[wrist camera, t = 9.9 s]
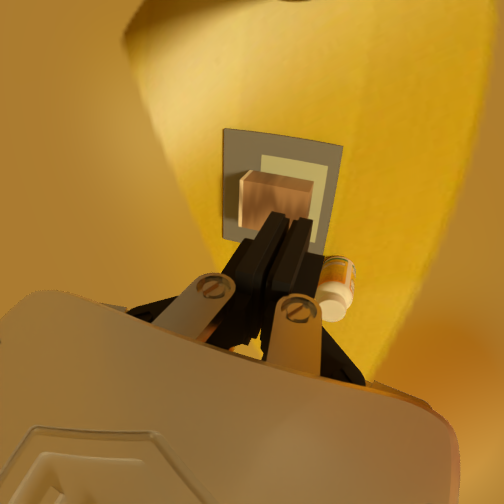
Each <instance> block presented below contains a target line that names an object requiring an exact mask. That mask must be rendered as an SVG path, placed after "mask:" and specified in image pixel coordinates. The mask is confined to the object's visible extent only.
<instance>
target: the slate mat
mask: <svg viewBox="0 0 504 504" xmlns="http://www.w3.org/2000/svg"><path fill="white" fill-rule="evenodd" d="M342 150H343V146H340V145H335V144H330V143H324V142H319V141H314V140H308V139H302V138H296V137H290V136H283V135H276V134H269V133H262V132H254V131H246V130H237V129H227V128H225V129H224V185H223V239H227V240H232V241H236V242H240V243H241V242H242V241H243V239H244V238H249V239H253V240H254V239H255V237H256V236H257V234H258V232H259V231H257V230H253V229H248V228H243V227H239V226H238V219H239V187H240V179H241V178H242V177H243V176H244V175H245V174H246V173H247V172H248V171H249V170H254V171H260V172H266V173H272V174H278V175H283V176H289V177H294V178H299V179H304V180H310V181H314V185H313V192H312V198H311V205H310V211H309V217H308V219H311V220H313V226H312V232H311V237H310V243H309V248H308V252H310V253H314V254H319V255H323V251H324V246H325V241H326V237H327V232H328V227H329V222H330V217H331V212H332V207H333V202H334V196H335V191H336V185H337V180H338V174H339V168H340V162H341V156H342Z"/></svg>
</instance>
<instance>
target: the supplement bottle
mask: <svg viewBox="0 0 504 504" xmlns="http://www.w3.org/2000/svg"><path fill="white" fill-rule="evenodd" d="M355 275H356V269H355V266H354V264H353V263H352V262H351V261H350V260H349V259H347V258H345V257H340V256H335V257H331V258H329V259H327V260H326V261H325V262H324V264H323V266H322V270H321V274H320V278H319V283H318V287H317V291H316V295H315V299H316V301H317V302H318V303H319V305H320V307H321V310H322V319H323V320H325V321H329V322H336V321H339V320H341V319H342V318H343V317H344V316H345V313H346V309H347V308H348V307H349V306H350V305H351V303H352V300H353V293H354V285H355Z"/></svg>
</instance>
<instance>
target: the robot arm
mask: <svg viewBox="0 0 504 504" xmlns="http://www.w3.org/2000/svg"><path fill="white" fill-rule="evenodd" d="M289 224H290V218H286V215H285V214H283V213H279V212H274V211H271V213H270V214H269V216H268V218H267V219H266V221H265V222H264V224H263V226H262V227H261V229H260V231H259V232H258V234H257V236H256V237H255V239H254V240H253V239H249V238H244V239H243V241H242V242H241V244H240V245H239V247H238V248H237V250H236V251H235V253H234V254H233V256H232V257H231V259H230V260H229V262H228V263H227V265H226V266H225V268H224V269H223V271H222V272H221V273H207V274H204V275H201V276H199V277H198V278H197V279H195V280H194V281H193V282H192V283H191V284H190V285H189V286H188V287H187V288H186V289H185V290H184V291H183V292H182V293H181V294H180V295H179V296H175V297H172V298H168V299H164V300H161V301H157V302H153V303H149V304H146V305H142V306H138V307H135V308H133V309H131V310H130V311H128V310H127V308H126V307H121V306H115V305H109V304H104V303H98V302H96V301H93V300H90V299H87V298H85V297H82V296H79V295H76V294H72V293H69V292H64V291H58V290H42V291H36V292H33V293H31V294H29V295H27V296H26V297H25V298H23V299H22V300H21V301H20V302H18V303H17V304H16V305H15V306H14V307H13V308H12V309H10V310H9V311H8V312H7V313H6V314H5V315H4V316H3V317H2V318H1V319H0V504H458V500H459V488H460V454H459V445H458V440H457V437H456V434H455V432H454V429H453V427H452V426H451V425H450V423H449V422H448V421H447V420H446V419H445V418H444V417H443V416H441V415H440V414H438V413H437V412H436V411H434V410H433V409H432V407H431V406H430V405H429V404H428V403H427V402H425V401H424V400H422V399H419V398H417V397H414V396H412V395H409V394H406V393H404V392H402V391H399V390H397V389H394V388H392V387H389V386H387V385H384V384H382V383H379V382H377V381H375V380H374V382H373V383H371V382H369V381H366V380H365V379H364V376H363V375H362V373H361V372H360V370H359V369H358V368H357V367H356V366H355V364H354V363H353V362H352V361H351V360H350V359H349V357H348V356H347V355H346V354H345V353H344V351H343V350H342V349H341V348H340V347H339V345H338V344H337V343H336V342H335V341H334V339H333V338H332V337H331V336H330V335H329V334H328V332H327V331H326V330H325V329H324V328H323V326H322V310H321V307H320V305H319V303H318V302H317V301H316V300H314V298H315V295H316V291H317V287H318V283H319V278H320V274H321V270H322V266H323V261H324V257H325V256H323V255H319V254H314V253H310V252H308V248H309V243H310V237H311V232H312V226H313V220H311V219H307V218H302V217H299V219H298V220H293V222H292V224H291V226H290V228H289ZM260 329H261V335H260V340H261V350H262V352H263V353H264V355H265V356H266V358H267V360H266V362H265V361H262V360H258V359H254V358H251V357H248V356H245V355H241V354H238V353H235V352H234V348H235V346H237V345H240V344H244V345H248V344H249V342H250V340H251V338H254V339H256V338H257V336H258V334H259V332H260Z"/></svg>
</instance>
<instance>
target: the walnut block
mask: <svg viewBox="0 0 504 504" xmlns="http://www.w3.org/2000/svg"><path fill="white" fill-rule="evenodd" d="M313 185H314V181H310V180H304V179H299V178H294V177H289V176H283V175H278V174H272V173H266V172H260V171H254V170H249V171H248V172H247V173H246V174H245V175H244V176H243V177H242V178H241V179H240V187H239V219H238V226H239V227H243V228H248V229H253V230H257V231H260V229H261V227H262V226H263V224H264V222H265V221H266V219H267V218H268V216H269V214H270V213H271V211H274V212H279V213H283V214H285V215H286V218H290V224H289V228H290V226H291V224H292V222H293V220H298V219H299V217H302V218H307V219H308V217H309V211H310V205H311V198H312V192H313Z"/></svg>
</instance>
